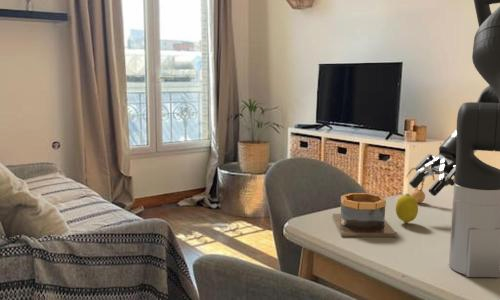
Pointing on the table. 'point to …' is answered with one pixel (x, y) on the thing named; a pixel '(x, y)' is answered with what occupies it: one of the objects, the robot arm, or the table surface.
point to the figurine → (417, 193)
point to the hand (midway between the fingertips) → (421, 189)
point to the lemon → (406, 208)
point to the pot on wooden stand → (363, 216)
